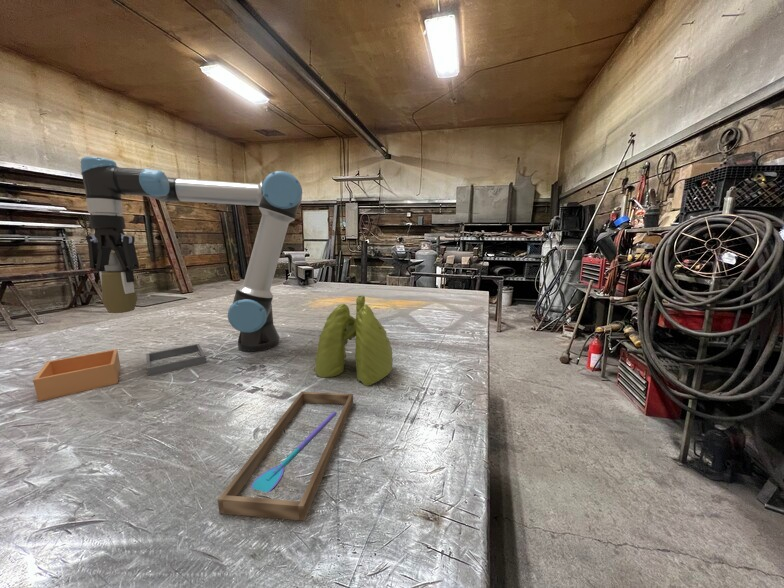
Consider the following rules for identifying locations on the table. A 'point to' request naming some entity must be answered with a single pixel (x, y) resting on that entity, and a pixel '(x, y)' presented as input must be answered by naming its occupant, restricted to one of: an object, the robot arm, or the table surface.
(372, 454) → the table surface
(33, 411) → the table surface
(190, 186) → the robot arm
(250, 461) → the brown wooden frame
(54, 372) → the wooden bin
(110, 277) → the squeeze bottle
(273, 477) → the paddle
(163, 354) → the tray
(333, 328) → the lungs
